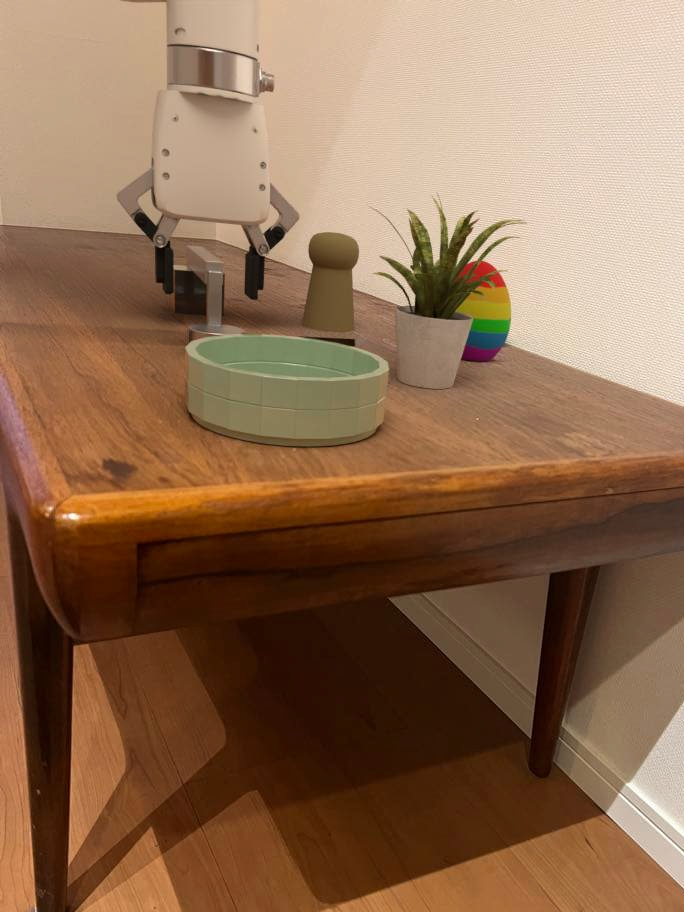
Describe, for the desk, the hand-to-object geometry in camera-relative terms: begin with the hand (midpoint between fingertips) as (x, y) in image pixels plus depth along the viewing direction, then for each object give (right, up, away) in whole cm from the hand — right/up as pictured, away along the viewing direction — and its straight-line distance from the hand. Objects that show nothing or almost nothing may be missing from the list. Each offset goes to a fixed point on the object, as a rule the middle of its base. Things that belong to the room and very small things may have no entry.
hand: (210, 293), depth 74 cm
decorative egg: (+25, -3, +12) cm, 28 cm away
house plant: (+22, -9, -2) cm, 24 cm away
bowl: (+10, -14, -17) cm, 25 cm away
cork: (+10, -2, +10) cm, 14 cm away
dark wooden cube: (-4, -1, +9) cm, 10 cm away
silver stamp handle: (-1, -3, +4) cm, 5 cm away
